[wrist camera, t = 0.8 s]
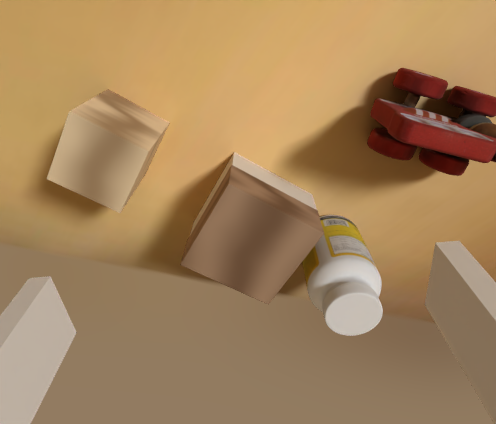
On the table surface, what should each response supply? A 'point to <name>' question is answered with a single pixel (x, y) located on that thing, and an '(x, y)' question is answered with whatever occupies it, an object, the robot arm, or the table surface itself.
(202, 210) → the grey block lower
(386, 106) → the toy fire truck
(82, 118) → the oak block
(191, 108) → the table surface
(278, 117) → the table surface
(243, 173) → the walnut block upper
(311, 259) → the pill bottle
